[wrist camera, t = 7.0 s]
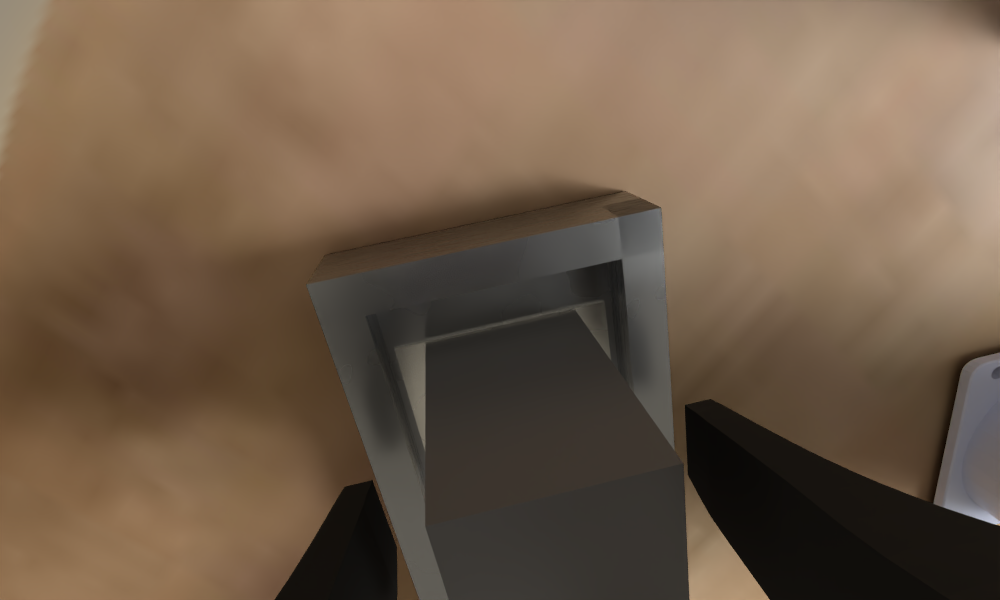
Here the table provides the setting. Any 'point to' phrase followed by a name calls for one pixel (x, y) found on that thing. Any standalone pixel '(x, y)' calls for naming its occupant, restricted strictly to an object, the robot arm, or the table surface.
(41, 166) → the table surface
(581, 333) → the grey square block
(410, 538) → the rail
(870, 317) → the table surface
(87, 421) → the table surface
